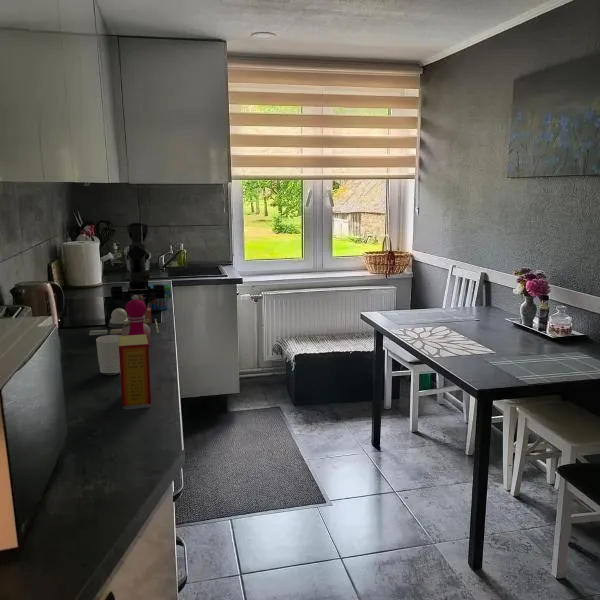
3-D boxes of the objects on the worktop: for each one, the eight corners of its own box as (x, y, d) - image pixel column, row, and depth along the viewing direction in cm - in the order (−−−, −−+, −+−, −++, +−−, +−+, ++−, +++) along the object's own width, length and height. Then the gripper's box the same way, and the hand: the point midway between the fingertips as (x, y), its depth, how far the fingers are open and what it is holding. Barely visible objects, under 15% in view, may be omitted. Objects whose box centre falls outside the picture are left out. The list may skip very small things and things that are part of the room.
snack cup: (162, 304, 244) (161, 282, 242) (180, 307, 239) (179, 284, 237) (136, 310, 231) (135, 287, 229) (155, 313, 226) (154, 289, 224)
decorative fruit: (131, 353, 170) (130, 323, 168) (117, 348, 176) (116, 318, 174) (157, 347, 177) (156, 318, 175) (143, 343, 183) (141, 314, 181)
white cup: (130, 368, 157) (129, 334, 155) (123, 377, 149) (121, 342, 147) (103, 368, 157) (101, 334, 155) (94, 377, 149) (91, 342, 147)
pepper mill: (125, 363, 161) (121, 297, 157) (126, 356, 168) (122, 293, 164) (150, 361, 163) (147, 296, 159) (150, 354, 170) (147, 292, 166)
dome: (110, 321, 204) (109, 307, 203) (129, 320, 206) (128, 306, 204) (109, 325, 197) (108, 310, 196) (129, 324, 199) (128, 309, 198)
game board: (88, 325, 205) (88, 321, 205) (156, 321, 212) (156, 317, 212) (84, 339, 186) (83, 334, 186) (158, 334, 194) (158, 330, 193)
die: (137, 321, 209) (137, 308, 208) (151, 320, 210) (150, 307, 209) (137, 324, 204) (137, 310, 203) (151, 323, 205) (151, 310, 204)
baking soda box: (121, 396, 136) (118, 334, 132) (148, 393, 138) (145, 332, 134) (122, 410, 127) (118, 344, 124) (151, 407, 129) (148, 342, 126)
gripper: (109, 263, 192) (108, 300, 184) (163, 262, 197) (165, 298, 188) (112, 281, 201) (111, 317, 193) (163, 280, 206) (165, 315, 197)
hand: (138, 311), depth 193 cm, fingers closed on pawn, 4 cm apart
